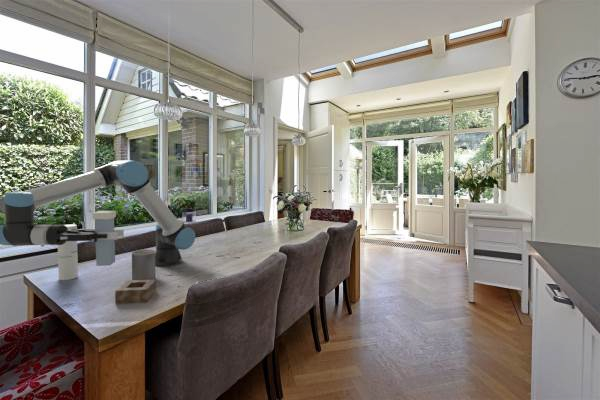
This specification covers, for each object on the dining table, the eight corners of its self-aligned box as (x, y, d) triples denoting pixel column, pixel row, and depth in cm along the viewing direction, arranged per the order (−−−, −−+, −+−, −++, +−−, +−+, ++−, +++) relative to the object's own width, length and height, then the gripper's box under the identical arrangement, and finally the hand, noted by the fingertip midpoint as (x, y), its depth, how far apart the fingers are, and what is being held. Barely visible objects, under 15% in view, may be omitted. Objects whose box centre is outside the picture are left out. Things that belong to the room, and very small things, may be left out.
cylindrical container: (81, 276, 138) (80, 225, 136) (65, 281, 131) (63, 227, 130) (71, 274, 140) (70, 224, 139) (55, 278, 134) (53, 226, 132)
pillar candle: (133, 278, 137) (133, 247, 136) (156, 275, 141) (155, 246, 140) (130, 285, 128) (129, 252, 127) (154, 282, 132) (154, 251, 131)
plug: (94, 266, 107) (92, 212, 105) (101, 261, 113) (99, 210, 111) (110, 265, 108) (109, 212, 106) (117, 261, 114) (115, 210, 112)
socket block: (115, 306, 107) (115, 290, 106) (127, 294, 118) (127, 280, 117) (147, 304, 109) (147, 289, 109) (156, 293, 120) (155, 279, 119)
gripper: (65, 240, 115) (129, 239, 119) (34, 250, 97) (110, 249, 102) (65, 221, 114) (129, 221, 119) (33, 228, 97) (110, 228, 102)
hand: (120, 234), depth 111 cm, fingers closed on plug, 5 cm apart
